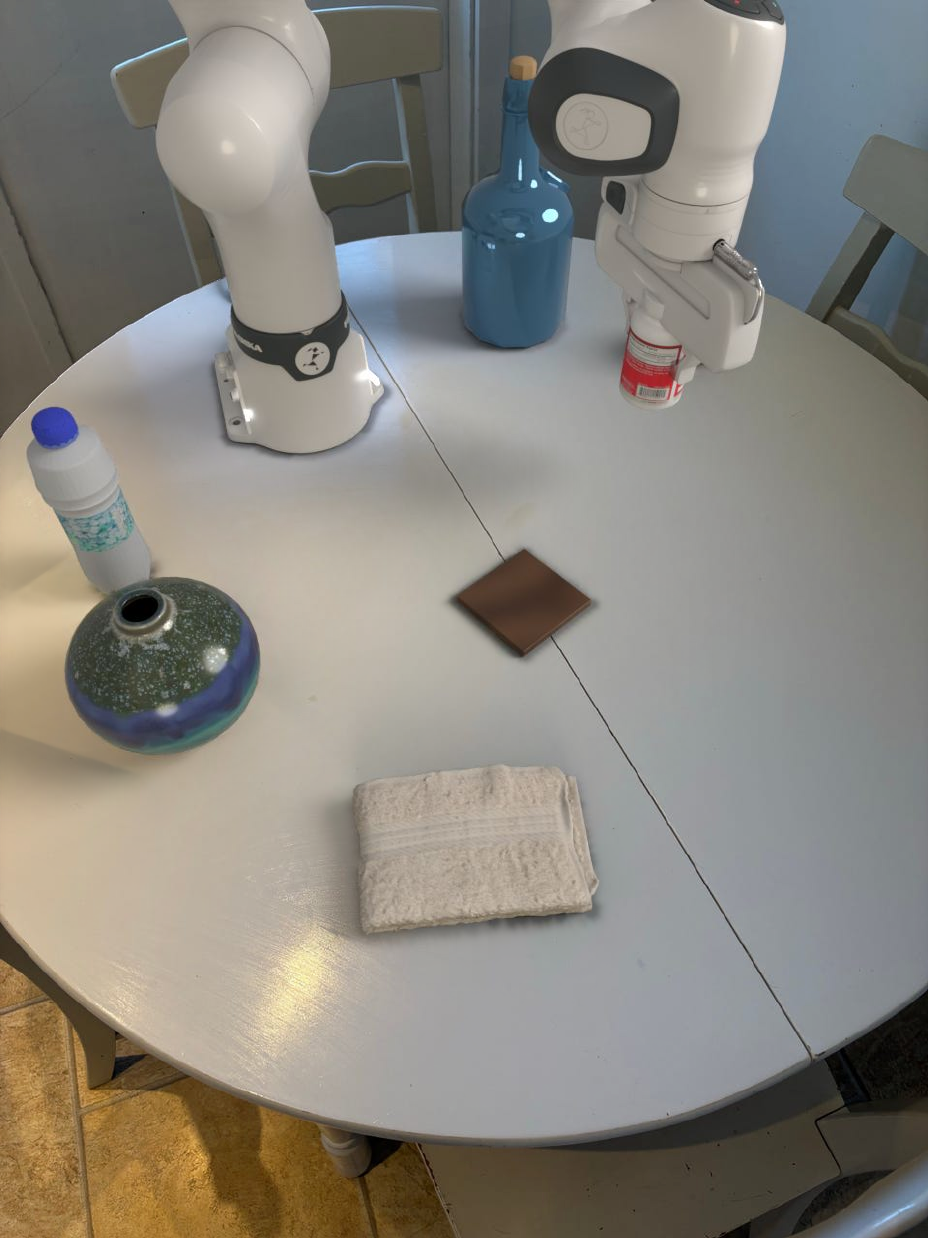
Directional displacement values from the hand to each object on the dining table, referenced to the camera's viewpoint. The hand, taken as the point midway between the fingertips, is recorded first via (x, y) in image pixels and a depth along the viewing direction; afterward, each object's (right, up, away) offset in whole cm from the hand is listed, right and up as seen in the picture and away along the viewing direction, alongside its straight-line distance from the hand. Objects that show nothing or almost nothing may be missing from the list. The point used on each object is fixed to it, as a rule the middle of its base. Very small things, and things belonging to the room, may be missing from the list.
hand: (657, 356), depth 84 cm
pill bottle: (0, -3, +3) cm, 4 cm away
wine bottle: (-12, +13, +29) cm, 34 cm away
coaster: (-13, -23, 0) cm, 27 cm away
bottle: (-52, -21, +3) cm, 56 cm away
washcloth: (-18, -43, -15) cm, 49 cm away
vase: (-43, -32, -6) cm, 54 cm away
